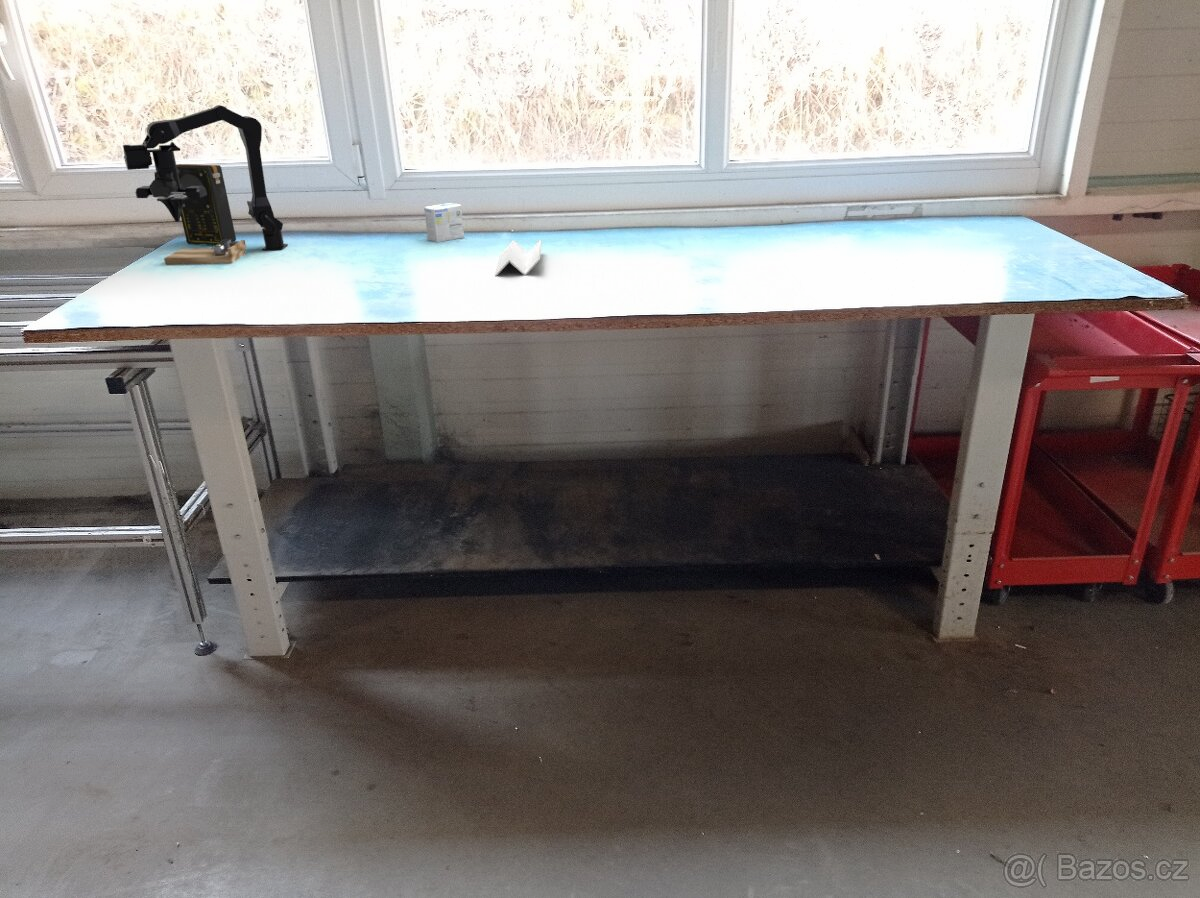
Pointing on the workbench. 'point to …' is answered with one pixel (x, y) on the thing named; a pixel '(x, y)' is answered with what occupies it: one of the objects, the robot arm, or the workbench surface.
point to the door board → (206, 255)
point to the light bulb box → (444, 222)
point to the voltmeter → (206, 206)
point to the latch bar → (222, 247)
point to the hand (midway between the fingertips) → (177, 221)
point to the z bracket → (519, 257)
